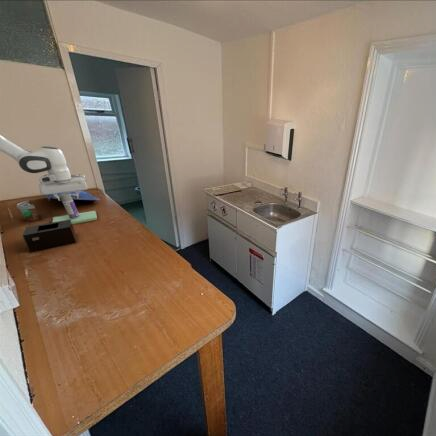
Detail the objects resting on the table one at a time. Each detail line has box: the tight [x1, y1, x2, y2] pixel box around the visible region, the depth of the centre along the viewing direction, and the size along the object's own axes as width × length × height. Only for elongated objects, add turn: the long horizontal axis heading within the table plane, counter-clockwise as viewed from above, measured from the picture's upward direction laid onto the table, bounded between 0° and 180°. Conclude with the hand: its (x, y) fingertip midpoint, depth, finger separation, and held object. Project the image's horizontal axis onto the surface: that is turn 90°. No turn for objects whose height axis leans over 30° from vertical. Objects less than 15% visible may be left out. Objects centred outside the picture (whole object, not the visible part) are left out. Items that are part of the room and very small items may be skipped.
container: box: [60, 193, 80, 219], centre depth 138 cm, size 5×5×15 cm
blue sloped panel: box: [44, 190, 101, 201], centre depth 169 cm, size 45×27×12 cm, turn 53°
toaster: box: [22, 220, 77, 253], centre depth 114 cm, size 16×12×9 cm
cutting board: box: [51, 210, 98, 225], centre depth 142 cm, size 20×14×2 cm
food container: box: [16, 200, 40, 222], centre depth 138 cm, size 12×6×10 cm, turn 55°
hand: (68, 199), depth 137 cm, fingers open, 6 cm apart
